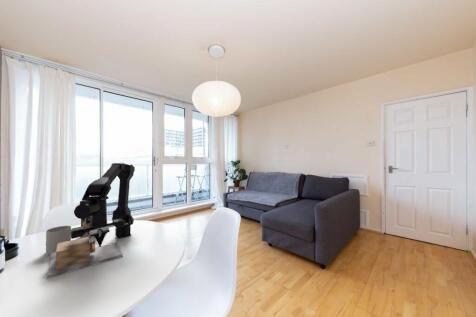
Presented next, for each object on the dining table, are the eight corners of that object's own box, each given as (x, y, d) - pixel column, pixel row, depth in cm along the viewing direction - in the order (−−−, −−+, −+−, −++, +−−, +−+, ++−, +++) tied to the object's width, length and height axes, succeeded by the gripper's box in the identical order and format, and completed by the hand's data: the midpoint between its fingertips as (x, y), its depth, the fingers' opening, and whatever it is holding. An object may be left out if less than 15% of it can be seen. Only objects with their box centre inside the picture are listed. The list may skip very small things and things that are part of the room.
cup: (55, 255, 82) (55, 232, 82) (40, 254, 84) (41, 231, 84) (75, 247, 91) (75, 226, 91) (61, 245, 92) (62, 225, 92)
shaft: (94, 249, 83) (94, 238, 84) (95, 253, 80) (95, 242, 80) (51, 260, 74) (51, 248, 75) (50, 265, 71) (50, 252, 71)
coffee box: (80, 238, 101) (80, 208, 101) (82, 234, 106) (83, 205, 106) (101, 235, 105) (101, 206, 105) (102, 231, 111) (103, 204, 111)
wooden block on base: (116, 244, 94) (116, 229, 94) (122, 256, 82) (122, 239, 82) (50, 260, 78) (51, 242, 79) (47, 278, 66) (47, 256, 67)
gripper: (119, 204, 95) (120, 235, 95) (70, 212, 83) (71, 248, 83) (124, 208, 87) (125, 242, 87) (70, 218, 74) (71, 257, 74)
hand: (99, 247), depth 83 cm, fingers closed
